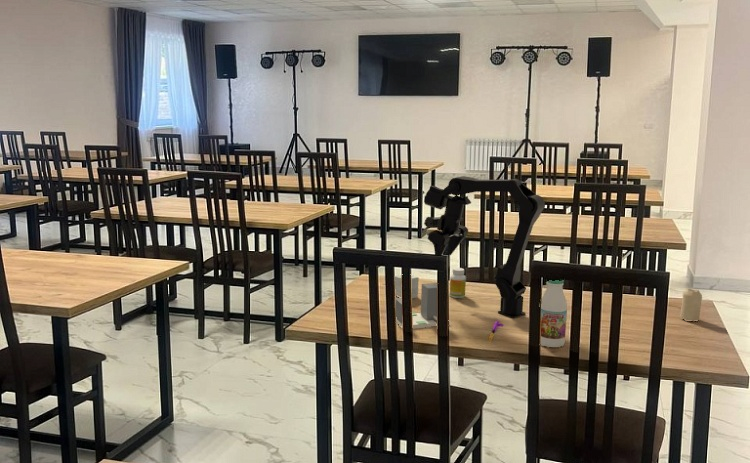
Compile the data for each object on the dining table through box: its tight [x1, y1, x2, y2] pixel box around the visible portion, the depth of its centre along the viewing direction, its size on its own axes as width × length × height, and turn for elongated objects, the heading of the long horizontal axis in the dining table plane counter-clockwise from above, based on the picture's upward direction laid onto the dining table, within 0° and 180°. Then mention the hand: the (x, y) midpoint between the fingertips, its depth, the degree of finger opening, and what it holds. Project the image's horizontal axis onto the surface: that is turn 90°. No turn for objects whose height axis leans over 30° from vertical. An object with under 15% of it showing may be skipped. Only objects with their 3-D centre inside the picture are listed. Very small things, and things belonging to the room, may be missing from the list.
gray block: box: [420, 282, 438, 320], centre depth 216 cm, size 5×9×10 cm, turn 18°
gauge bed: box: [394, 297, 450, 330], centre depth 215 cm, size 15×10×7 cm, turn 108°
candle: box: [679, 288, 703, 321], centre depth 223 cm, size 6×6×10 cm
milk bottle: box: [540, 279, 568, 348], centre depth 198 cm, size 8×8×20 cm
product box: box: [394, 274, 420, 300], centre depth 241 cm, size 6×6×7 cm
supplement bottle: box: [449, 267, 467, 299], centre depth 243 cm, size 5×5×10 cm
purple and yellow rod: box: [488, 320, 504, 342], centre depth 209 cm, size 3×1×16 cm
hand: (443, 257), depth 236 cm, fingers open, 9 cm apart
